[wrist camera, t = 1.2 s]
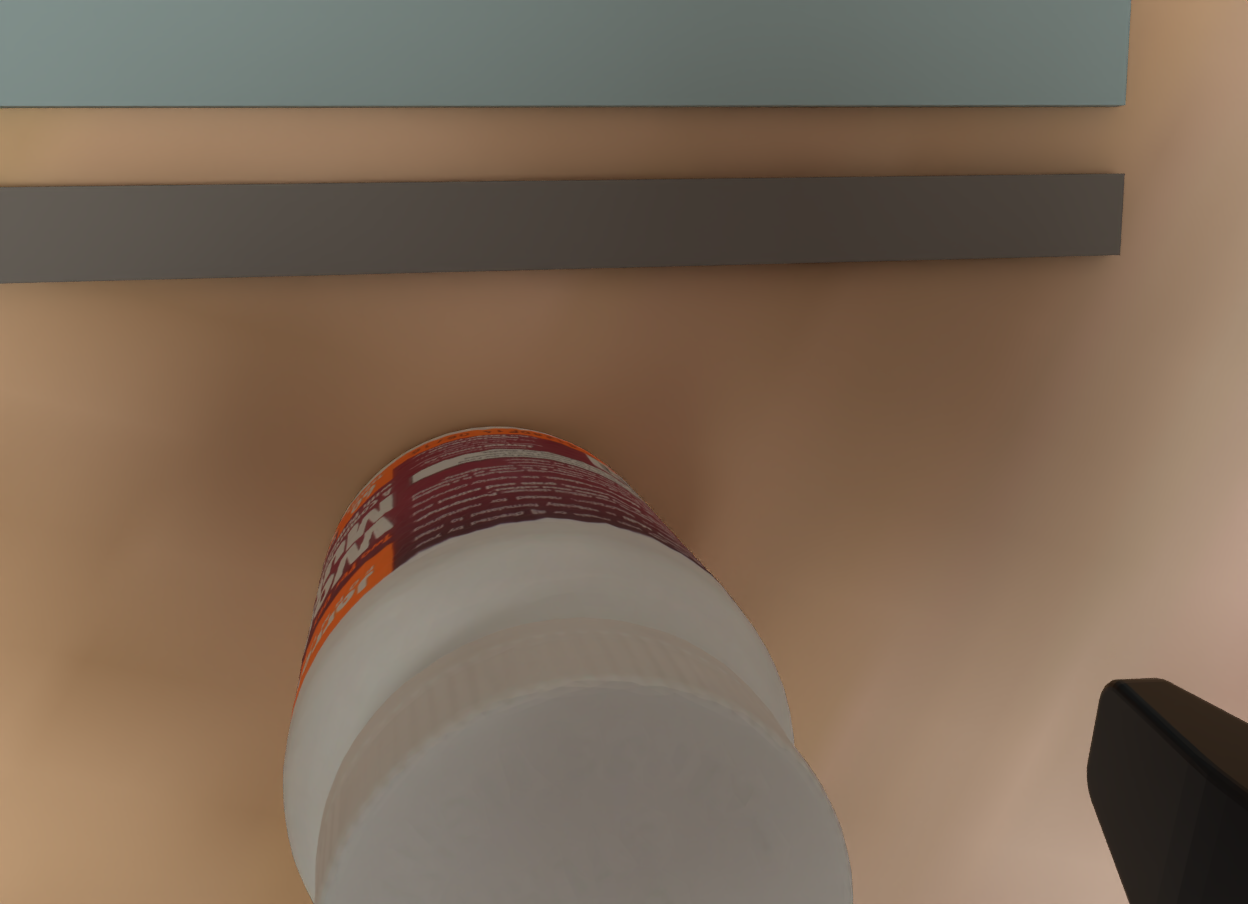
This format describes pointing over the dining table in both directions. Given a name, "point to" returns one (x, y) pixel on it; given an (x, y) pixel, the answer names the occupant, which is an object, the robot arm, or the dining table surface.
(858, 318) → the dining table surface
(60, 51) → the mat
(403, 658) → the pill bottle
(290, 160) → the dining table surface
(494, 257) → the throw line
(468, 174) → the dining table surface
